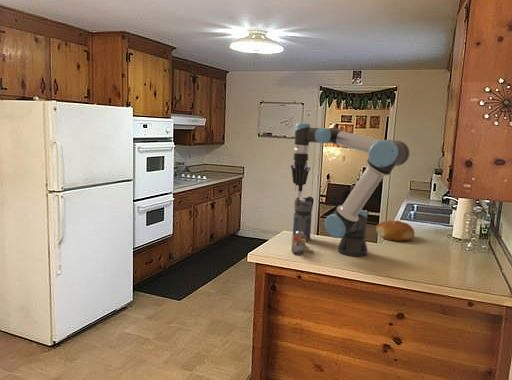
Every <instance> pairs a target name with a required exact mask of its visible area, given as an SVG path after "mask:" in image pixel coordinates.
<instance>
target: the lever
mask: <svg viewBox="0 0 512 380" xmlns="http://www.w3.org/2000/svg"><path fill="white" fill-rule="evenodd" d="M301 236H303V231H296V234H295V235H294V238H293V241H300V238H301Z"/></svg>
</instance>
